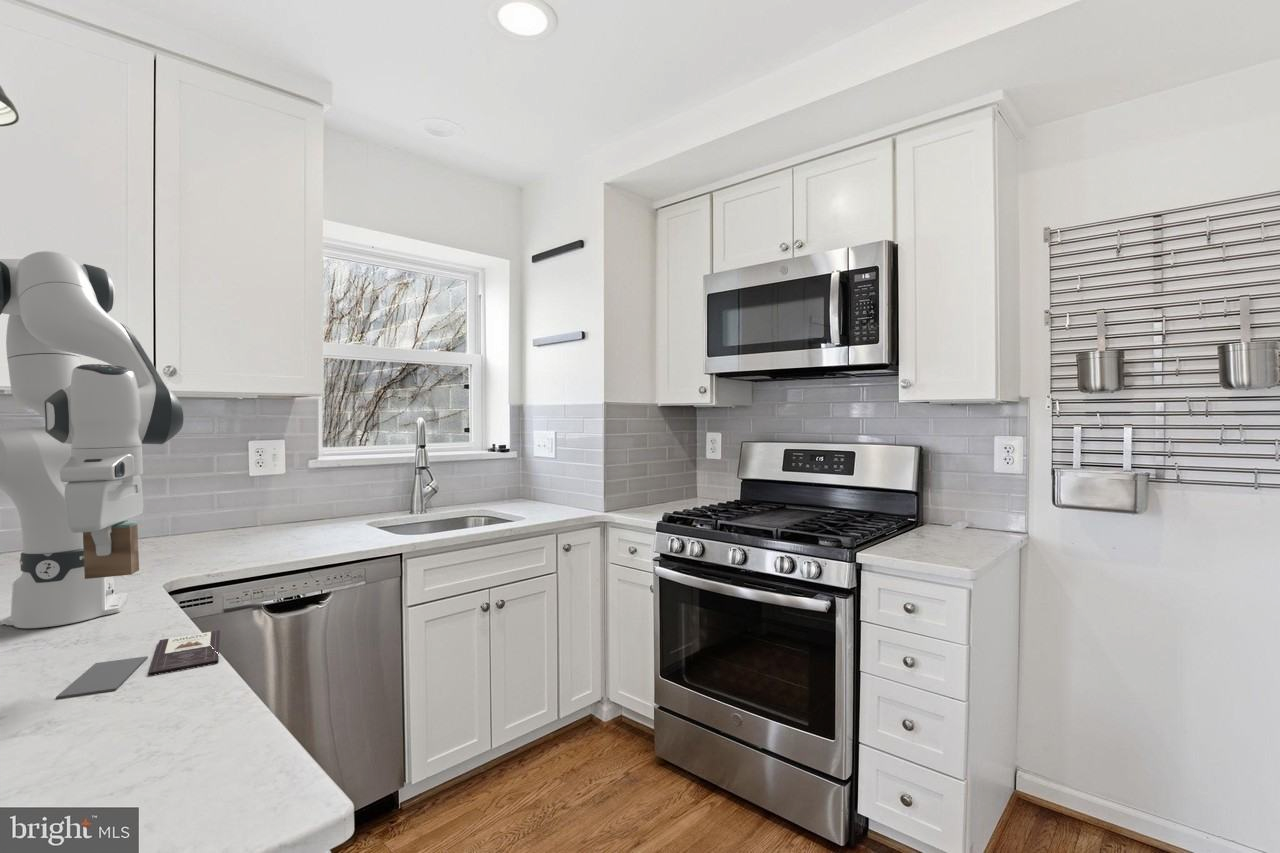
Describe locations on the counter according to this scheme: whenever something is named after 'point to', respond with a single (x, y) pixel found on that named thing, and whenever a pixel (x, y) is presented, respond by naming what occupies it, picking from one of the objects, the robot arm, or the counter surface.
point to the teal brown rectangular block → (121, 558)
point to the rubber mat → (103, 677)
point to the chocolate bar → (186, 652)
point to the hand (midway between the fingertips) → (111, 551)
